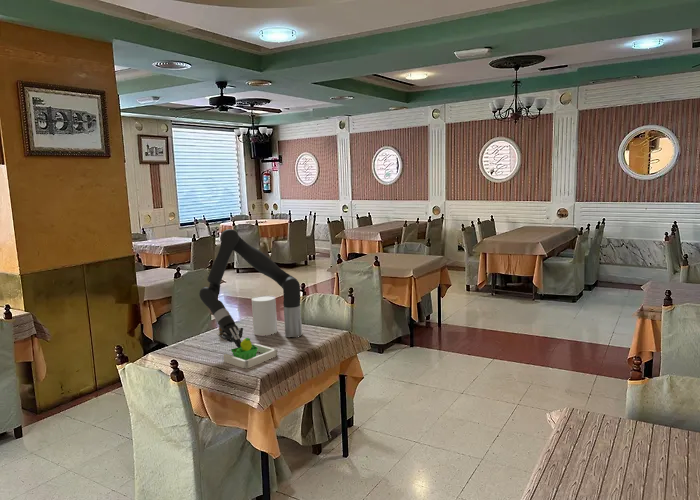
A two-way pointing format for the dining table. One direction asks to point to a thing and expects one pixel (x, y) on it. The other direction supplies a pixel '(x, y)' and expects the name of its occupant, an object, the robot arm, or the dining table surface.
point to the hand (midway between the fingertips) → (240, 346)
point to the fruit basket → (245, 350)
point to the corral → (245, 364)
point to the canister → (264, 315)
